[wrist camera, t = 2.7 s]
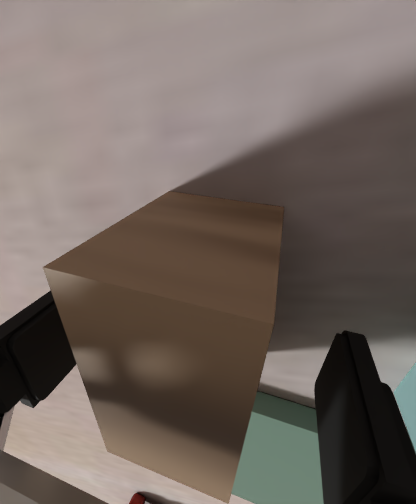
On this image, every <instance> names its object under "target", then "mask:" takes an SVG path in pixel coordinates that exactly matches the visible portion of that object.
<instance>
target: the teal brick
mask: <svg viewBox="0 0 416 504" xmlns="http://www.w3.org/2000/svg"><path fill="white" fill-rule="evenodd" d="M394 395H395V398H396V400H397V403H398V406H399V408H400V411H401V414H402V416H403V419H404V422H405V425H406V427H407V430H408V433H409V435H410V438H411V441H412V443H413V446H414V449H415V451H416V363H415V364H414V366H413V367H412V368H411V370H410V371H409V372H408V374H407V375H406V376H405V378H404V379H403V380H402V382H401V383H400V384H399V386H398V387H397V388H396V390H395V391H394Z"/></svg>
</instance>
